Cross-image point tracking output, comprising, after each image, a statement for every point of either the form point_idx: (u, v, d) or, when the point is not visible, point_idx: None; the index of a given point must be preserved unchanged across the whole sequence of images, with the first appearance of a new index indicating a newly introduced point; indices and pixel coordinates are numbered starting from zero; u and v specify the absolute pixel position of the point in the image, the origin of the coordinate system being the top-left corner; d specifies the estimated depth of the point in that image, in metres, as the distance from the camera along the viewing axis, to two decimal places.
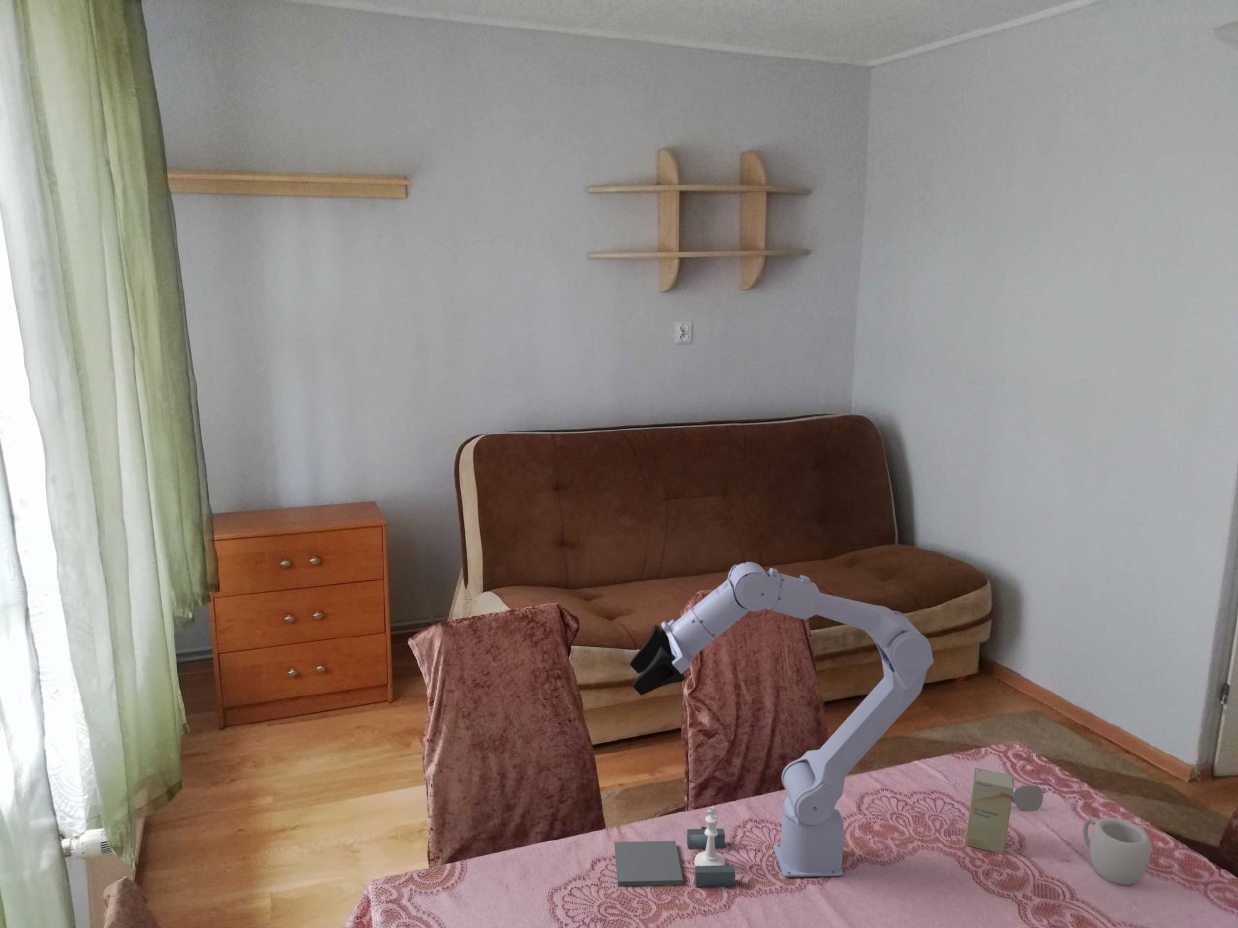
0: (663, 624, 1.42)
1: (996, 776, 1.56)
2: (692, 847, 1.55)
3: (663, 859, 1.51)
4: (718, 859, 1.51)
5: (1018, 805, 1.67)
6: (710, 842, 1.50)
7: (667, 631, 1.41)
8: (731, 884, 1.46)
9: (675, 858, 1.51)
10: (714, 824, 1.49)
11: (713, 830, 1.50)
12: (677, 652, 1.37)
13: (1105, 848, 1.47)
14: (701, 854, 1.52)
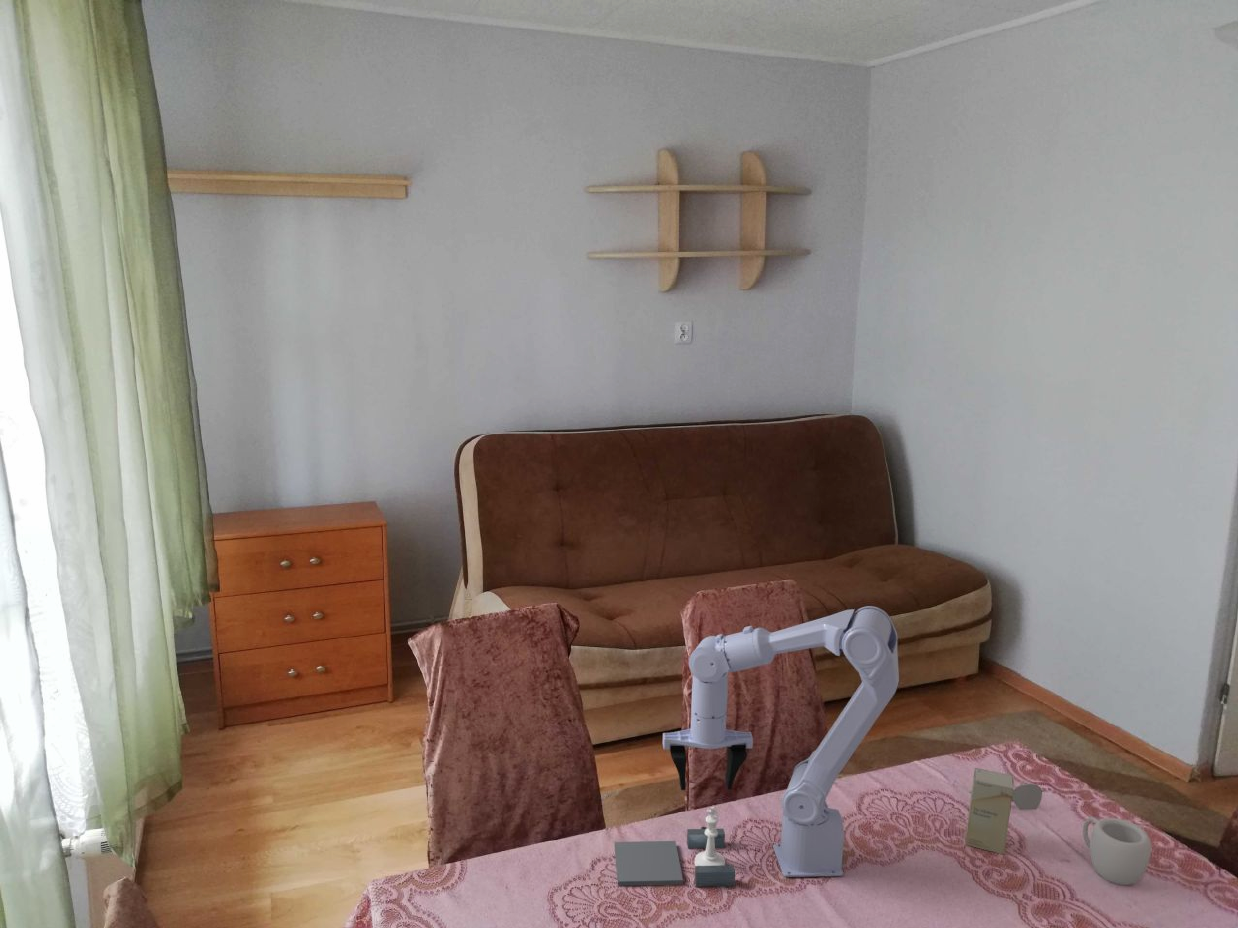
0: None
1: (996, 776, 1.56)
2: (692, 847, 1.55)
3: (663, 859, 1.51)
4: (718, 859, 1.51)
5: (1017, 804, 1.68)
6: (710, 842, 1.50)
7: None
8: (731, 884, 1.46)
9: (675, 858, 1.51)
10: (714, 824, 1.49)
11: (713, 830, 1.50)
12: None
13: (1105, 848, 1.47)
14: (701, 854, 1.52)
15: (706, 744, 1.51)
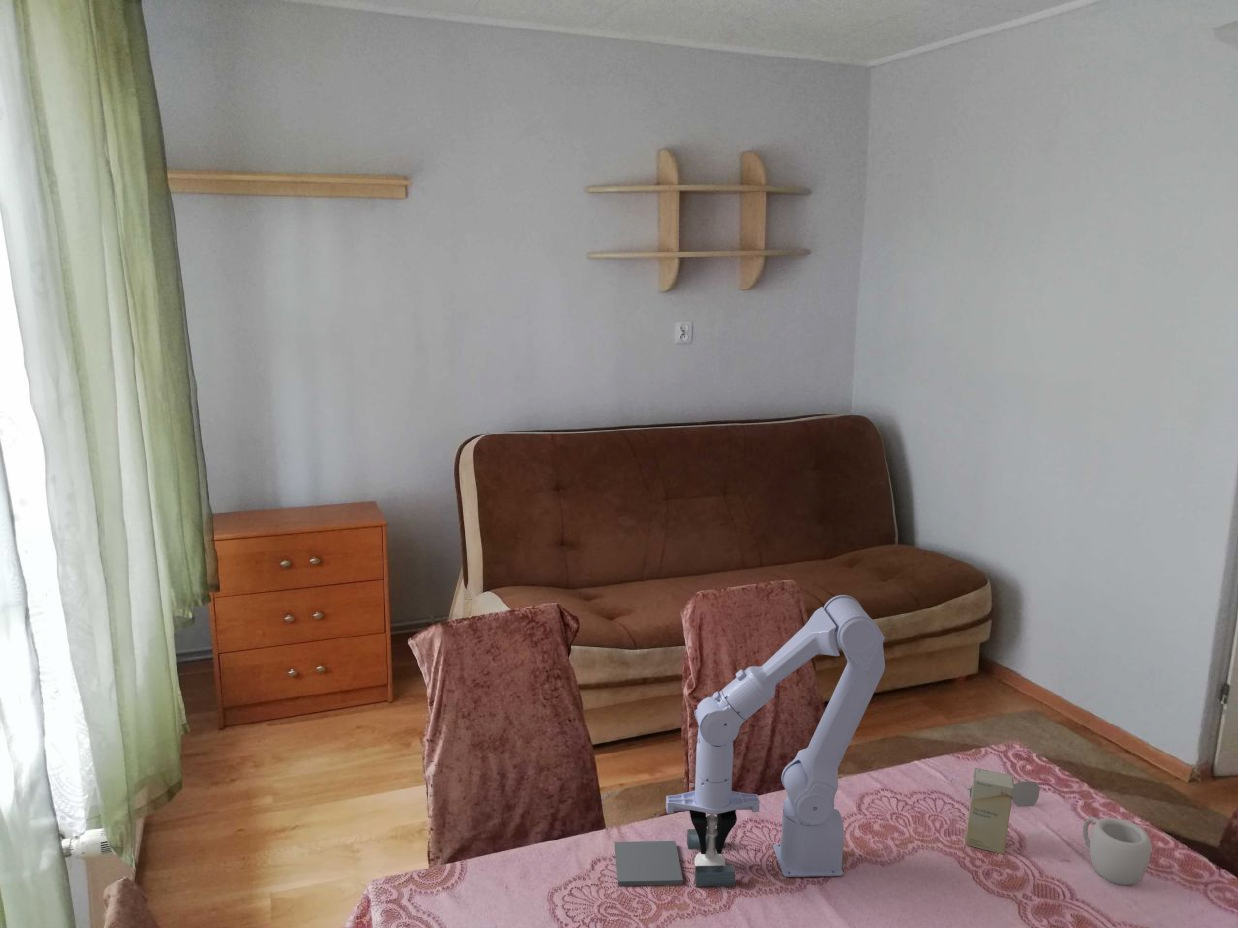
0: None
1: (996, 776, 1.56)
2: (692, 847, 1.55)
3: (663, 859, 1.51)
4: (718, 859, 1.51)
5: (1014, 801, 1.69)
6: (710, 842, 1.50)
7: None
8: (731, 884, 1.46)
9: (675, 858, 1.51)
10: (714, 824, 1.49)
11: (713, 830, 1.50)
12: (676, 797, 1.50)
13: (1105, 848, 1.47)
14: (701, 854, 1.52)
15: (711, 808, 1.46)
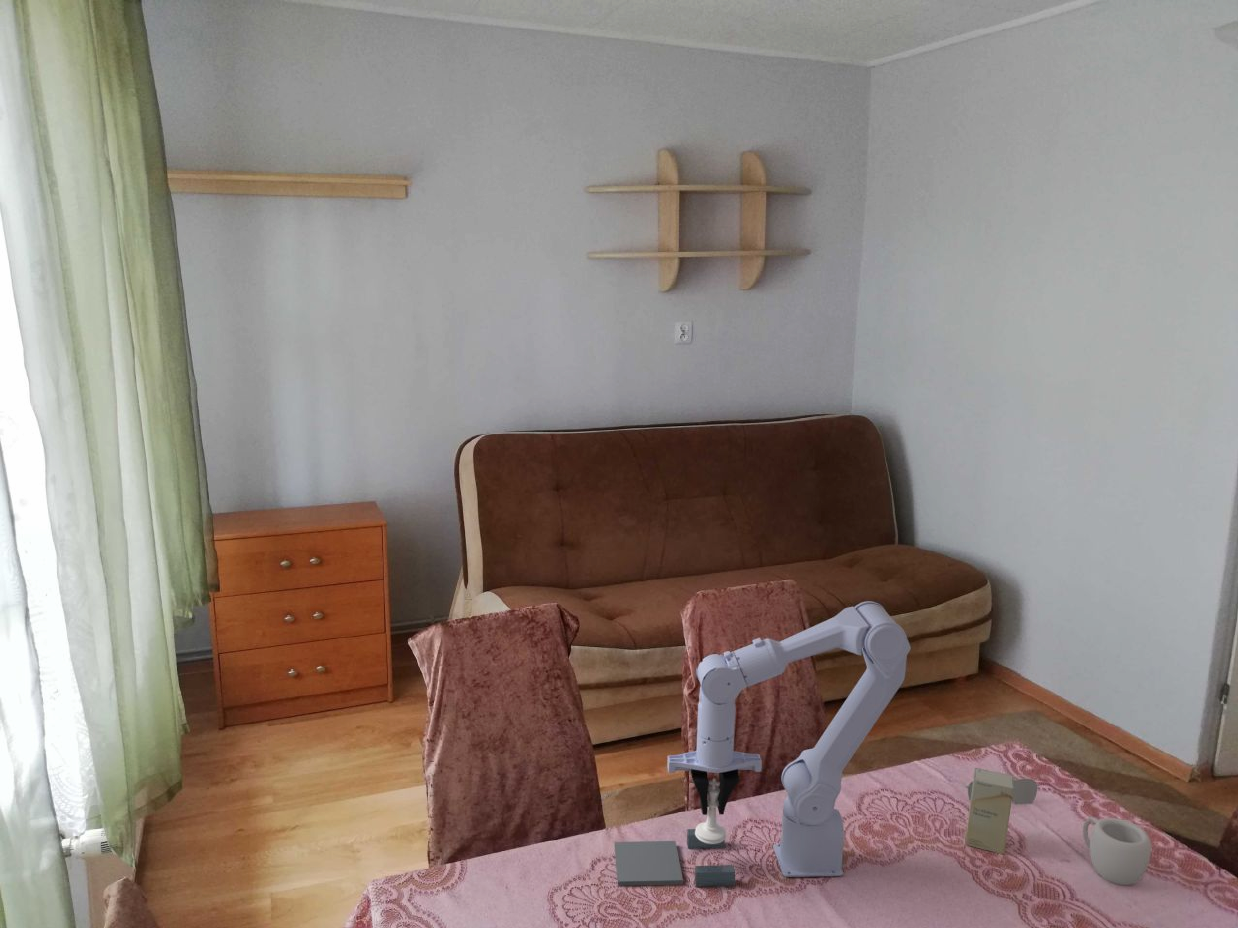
0: None
1: (996, 776, 1.56)
2: (692, 847, 1.55)
3: (663, 859, 1.51)
4: (719, 830, 1.49)
5: (1012, 798, 1.70)
6: (711, 813, 1.49)
7: None
8: (731, 884, 1.46)
9: (675, 858, 1.51)
10: (716, 795, 1.48)
11: (714, 801, 1.48)
12: None
13: (1105, 848, 1.47)
14: (702, 824, 1.51)
15: (713, 767, 1.44)
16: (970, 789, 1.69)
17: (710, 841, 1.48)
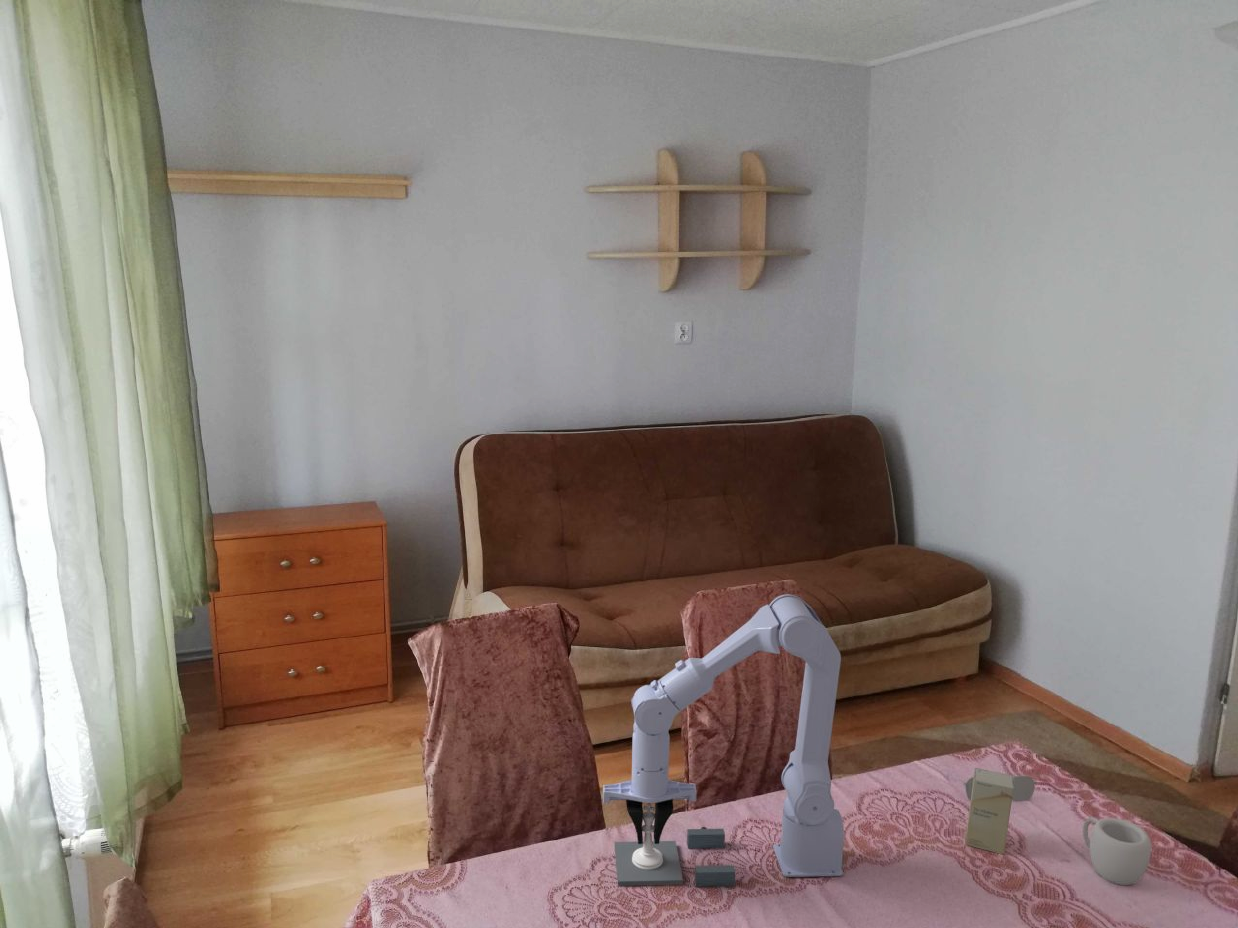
0: None
1: (996, 776, 1.56)
2: (692, 847, 1.55)
3: (663, 859, 1.51)
4: (655, 855, 1.50)
5: None
6: (647, 838, 1.49)
7: None
8: (731, 884, 1.46)
9: (675, 858, 1.51)
10: (650, 820, 1.48)
11: (650, 826, 1.49)
12: None
13: (1105, 848, 1.47)
14: (639, 850, 1.51)
15: (647, 798, 1.45)
16: (968, 786, 1.70)
17: (646, 867, 1.48)
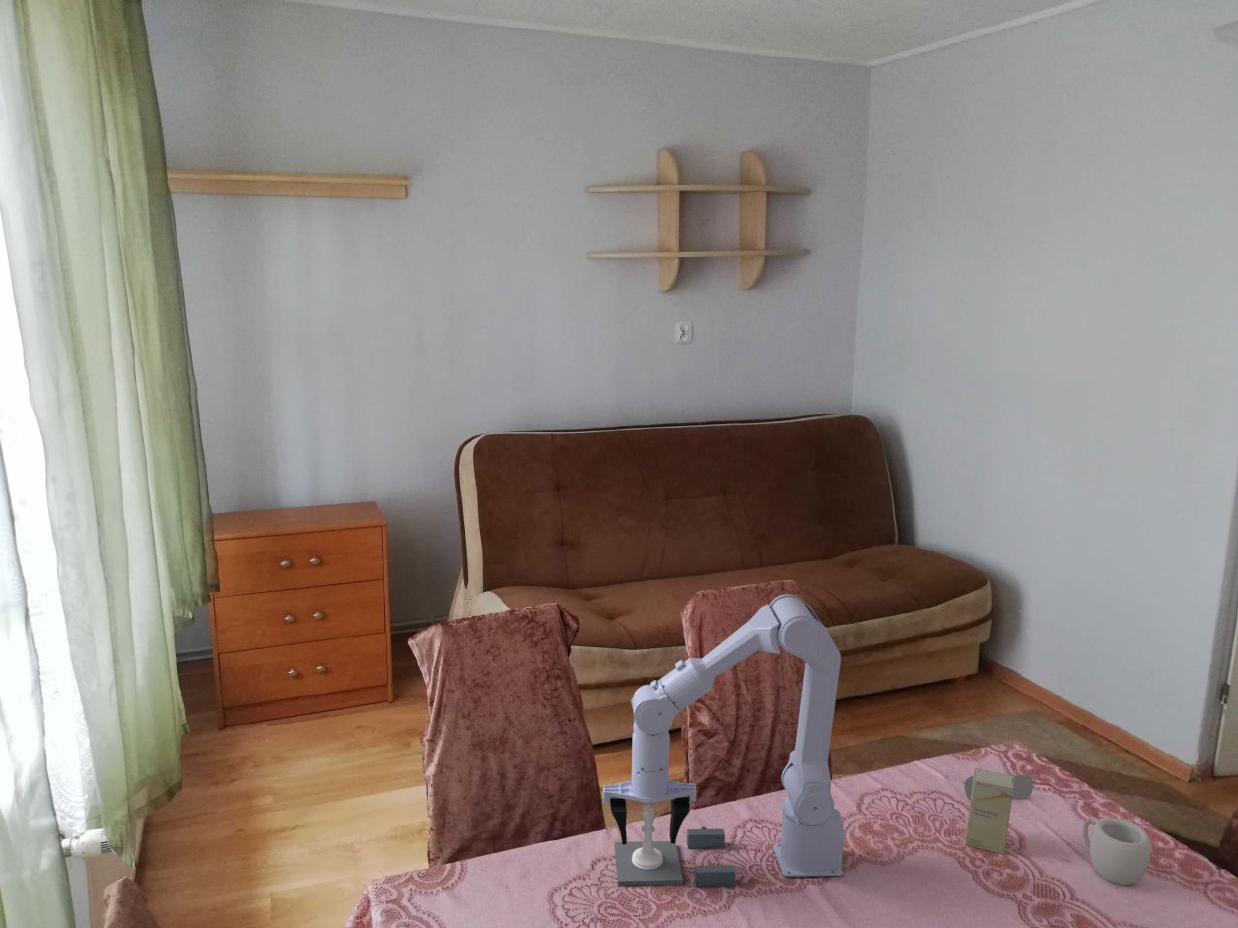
0: None
1: (996, 776, 1.56)
2: (692, 847, 1.55)
3: (663, 859, 1.51)
4: (655, 855, 1.50)
5: None
6: (647, 838, 1.49)
7: None
8: (731, 884, 1.46)
9: (675, 858, 1.51)
10: (650, 820, 1.48)
11: (650, 826, 1.49)
12: None
13: (1105, 848, 1.47)
14: (639, 850, 1.51)
15: (647, 798, 1.45)
16: (967, 785, 1.70)
17: (646, 867, 1.48)
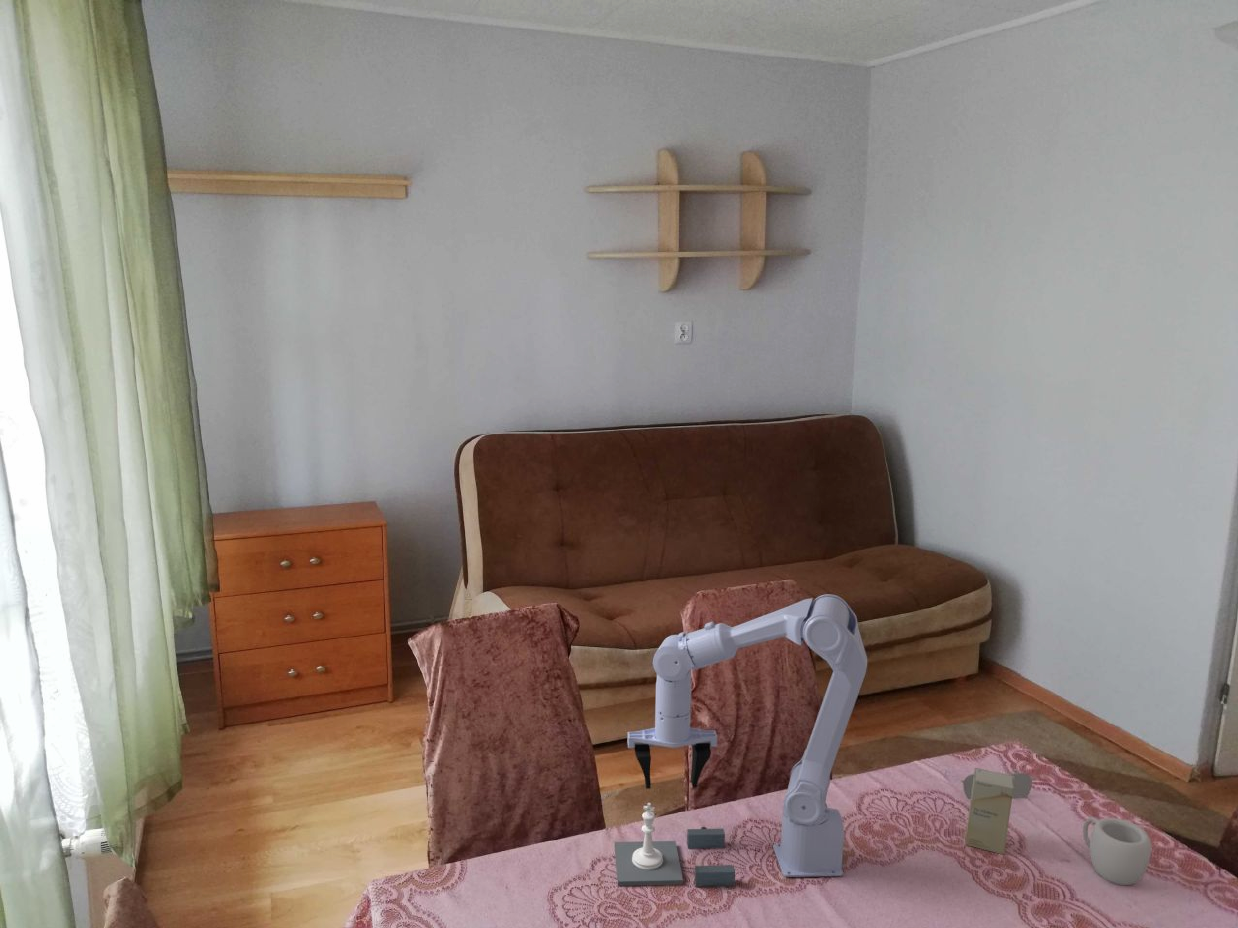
0: None
1: (996, 776, 1.56)
2: (692, 847, 1.55)
3: (663, 859, 1.51)
4: (655, 855, 1.50)
5: None
6: (647, 838, 1.49)
7: None
8: (731, 884, 1.46)
9: (675, 858, 1.51)
10: (650, 820, 1.48)
11: (650, 826, 1.49)
12: (637, 733, 1.56)
13: (1105, 848, 1.47)
14: (639, 850, 1.51)
15: (670, 743, 1.52)
16: (965, 783, 1.71)
17: (646, 867, 1.48)
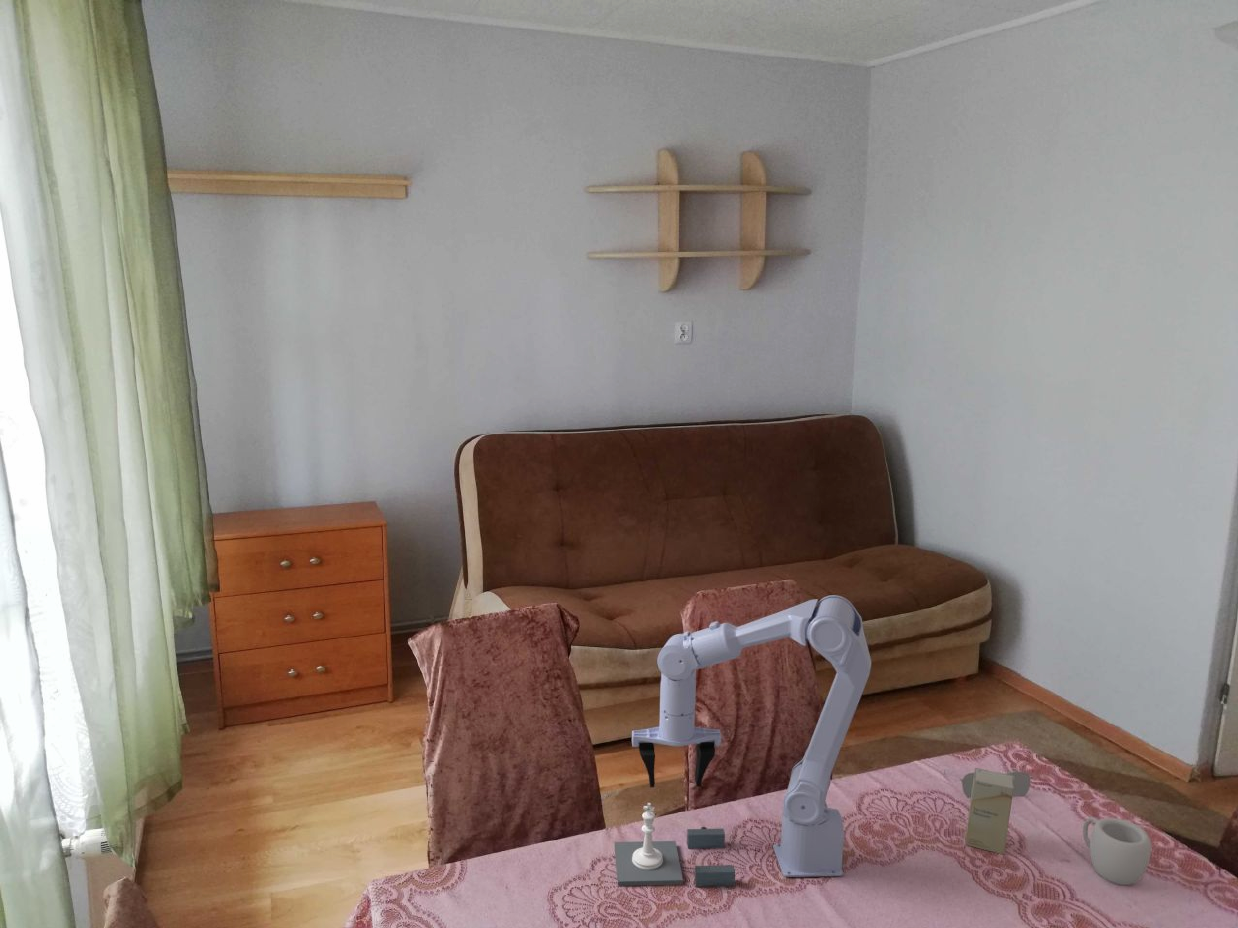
0: None
1: (996, 776, 1.56)
2: (692, 847, 1.55)
3: (663, 859, 1.51)
4: (655, 855, 1.50)
5: None
6: (647, 838, 1.49)
7: None
8: (731, 884, 1.46)
9: (675, 858, 1.51)
10: (650, 820, 1.48)
11: (650, 826, 1.49)
12: None
13: (1105, 848, 1.47)
14: (639, 850, 1.51)
15: (674, 741, 1.52)
16: (964, 782, 1.71)
17: (646, 867, 1.48)
